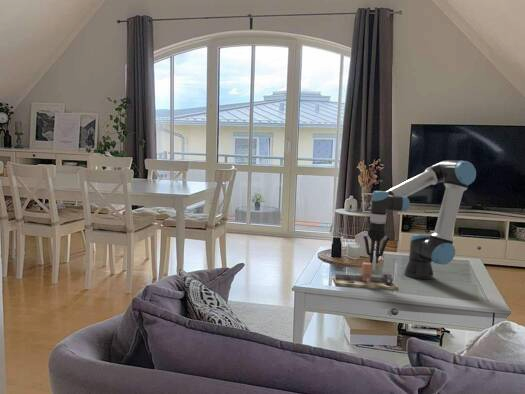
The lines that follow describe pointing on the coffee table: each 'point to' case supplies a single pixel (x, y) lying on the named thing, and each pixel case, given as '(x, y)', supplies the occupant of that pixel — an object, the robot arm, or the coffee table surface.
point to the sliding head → (366, 271)
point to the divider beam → (384, 277)
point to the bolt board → (365, 284)
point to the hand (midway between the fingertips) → (372, 269)
